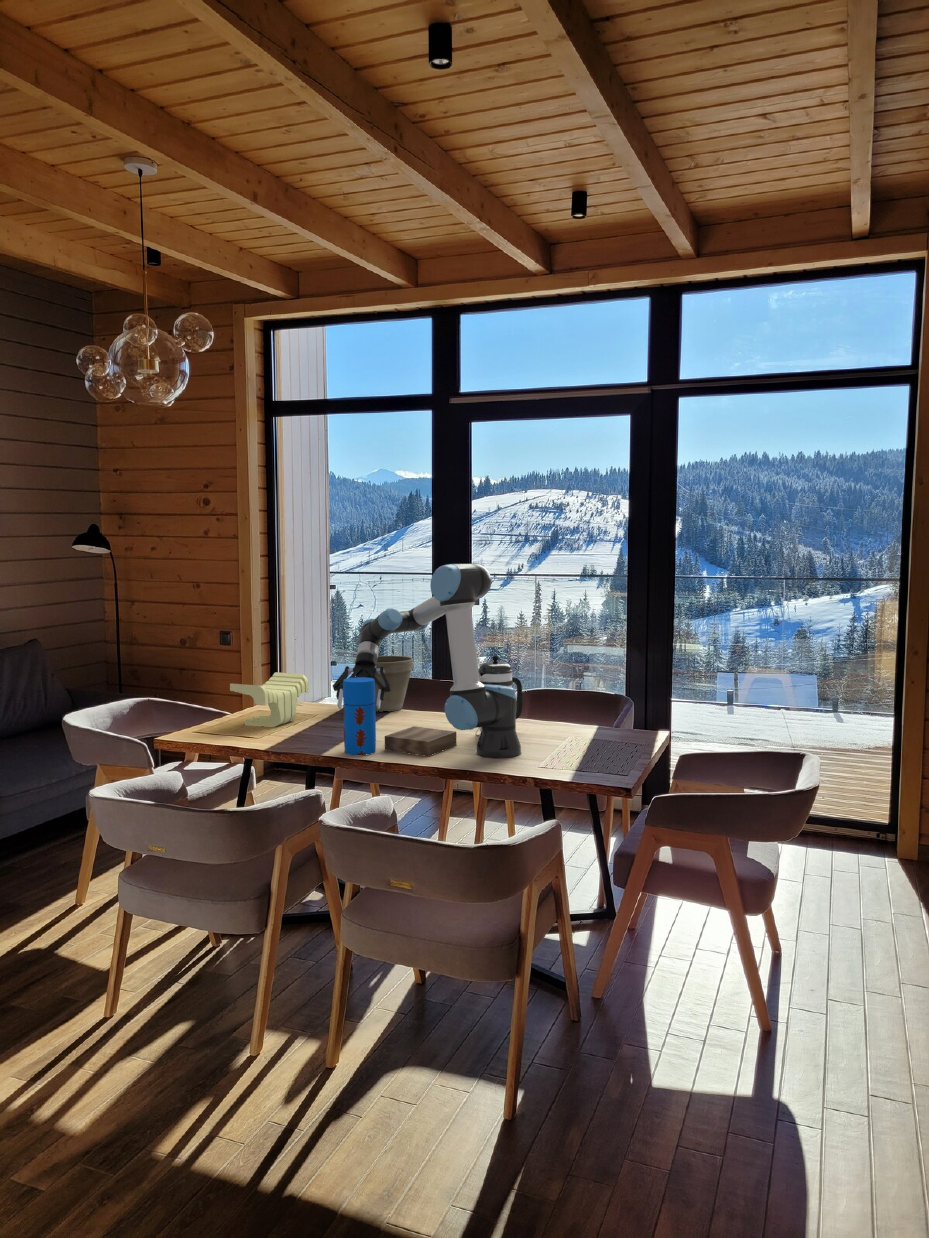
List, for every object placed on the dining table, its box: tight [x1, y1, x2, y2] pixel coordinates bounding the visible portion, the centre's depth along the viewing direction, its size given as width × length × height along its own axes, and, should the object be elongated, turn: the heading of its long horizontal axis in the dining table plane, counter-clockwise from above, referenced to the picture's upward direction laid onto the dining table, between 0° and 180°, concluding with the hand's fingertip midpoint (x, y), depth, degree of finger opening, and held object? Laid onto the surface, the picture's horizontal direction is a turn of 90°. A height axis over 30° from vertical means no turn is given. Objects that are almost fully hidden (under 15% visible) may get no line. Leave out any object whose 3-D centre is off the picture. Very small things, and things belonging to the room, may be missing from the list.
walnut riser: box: [384, 726, 457, 757], centre depth 317 cm, size 18×18×5 cm
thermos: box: [342, 676, 377, 756], centre depth 311 cm, size 11×11×25 cm
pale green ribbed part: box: [229, 672, 310, 728], centre depth 360 cm, size 30×16×18 cm, turn 157°
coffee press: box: [475, 654, 523, 737], centre depth 335 cm, size 17×16×30 cm
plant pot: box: [354, 655, 414, 713], centre depth 388 cm, size 25×25×22 cm
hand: (358, 706), depth 313 cm, fingers open, 13 cm apart
